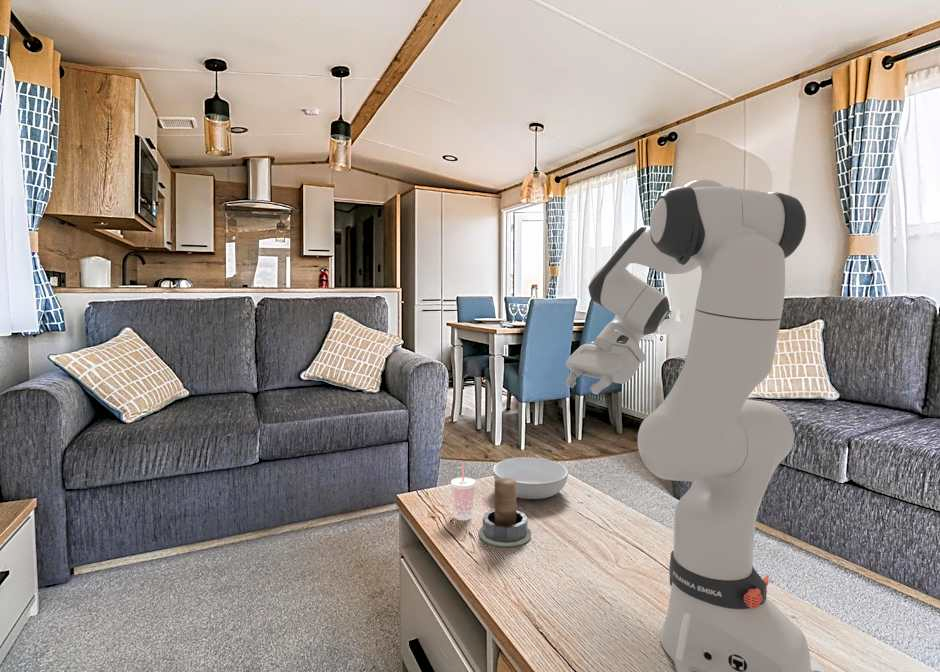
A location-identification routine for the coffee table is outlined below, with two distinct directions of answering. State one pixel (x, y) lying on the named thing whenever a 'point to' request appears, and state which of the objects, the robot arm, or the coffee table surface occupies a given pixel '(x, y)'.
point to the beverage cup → (463, 496)
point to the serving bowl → (533, 476)
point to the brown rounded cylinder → (505, 501)
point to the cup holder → (505, 531)
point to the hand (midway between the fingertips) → (580, 388)
